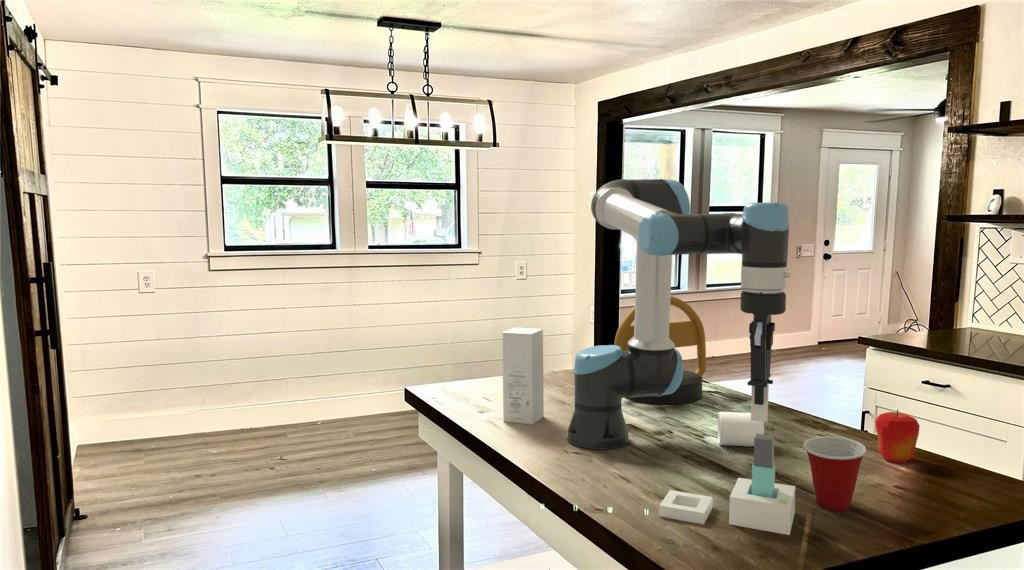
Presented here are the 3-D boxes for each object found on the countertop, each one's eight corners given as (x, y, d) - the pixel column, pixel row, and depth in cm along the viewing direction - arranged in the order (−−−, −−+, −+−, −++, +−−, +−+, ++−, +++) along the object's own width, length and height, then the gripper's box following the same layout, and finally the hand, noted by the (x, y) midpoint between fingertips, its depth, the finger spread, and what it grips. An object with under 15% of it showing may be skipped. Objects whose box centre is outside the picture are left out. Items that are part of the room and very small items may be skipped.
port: (729, 529, 122) (729, 494, 122) (737, 508, 131) (738, 476, 130) (789, 540, 118) (790, 504, 117) (794, 517, 127) (795, 484, 126)
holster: (659, 521, 126) (659, 505, 125) (669, 505, 133) (670, 490, 133) (703, 529, 122) (704, 513, 122) (712, 512, 129) (712, 497, 129)
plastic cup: (790, 503, 133) (791, 442, 132) (821, 490, 139) (823, 432, 138) (844, 522, 124) (846, 458, 123) (875, 508, 130) (877, 446, 129)
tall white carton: (544, 416, 195) (543, 328, 192) (533, 425, 186) (532, 333, 184) (515, 413, 198) (514, 327, 196) (503, 421, 190) (501, 332, 187)
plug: (751, 514, 123) (752, 438, 122) (753, 507, 126) (755, 433, 125) (771, 518, 122) (773, 441, 121) (774, 510, 125) (775, 435, 124)
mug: (763, 451, 163) (764, 418, 163) (720, 449, 165) (720, 416, 165) (756, 436, 175) (757, 405, 174) (715, 434, 177) (716, 403, 176)
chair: (593, 392, 221) (593, 294, 218) (682, 381, 235) (683, 289, 232) (637, 411, 199) (638, 302, 196) (732, 397, 213) (734, 296, 210)
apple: (925, 462, 155) (928, 410, 154) (902, 468, 151) (904, 415, 150) (889, 451, 162) (891, 401, 161) (866, 456, 159) (868, 406, 158)
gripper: (782, 295, 114) (777, 433, 117) (789, 287, 126) (784, 413, 128) (735, 293, 117) (731, 427, 120) (746, 285, 129) (742, 408, 132)
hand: (759, 420), depth 124 cm, fingers closed
